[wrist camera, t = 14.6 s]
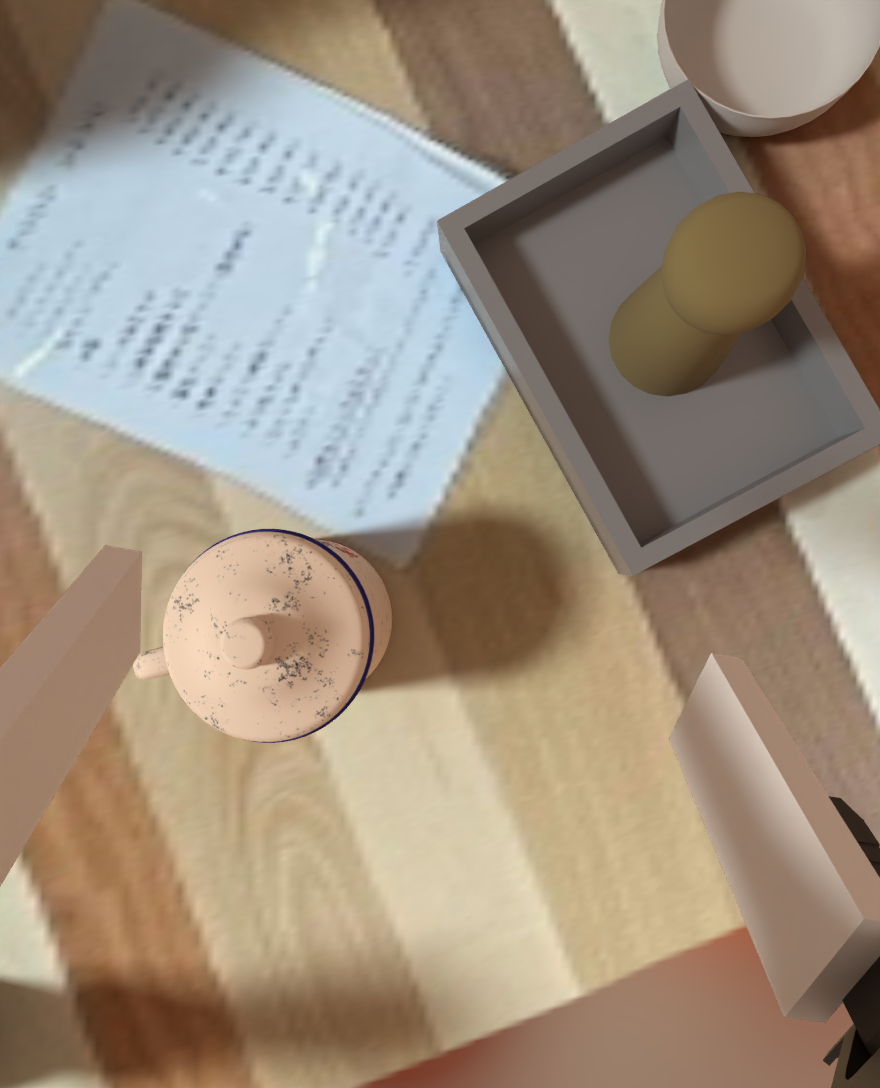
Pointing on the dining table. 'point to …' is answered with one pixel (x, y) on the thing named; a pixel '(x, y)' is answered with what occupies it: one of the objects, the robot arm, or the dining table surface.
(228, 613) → the teacup with lid
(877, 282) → the dining table surface
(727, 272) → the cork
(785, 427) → the tray
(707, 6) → the saucepan
